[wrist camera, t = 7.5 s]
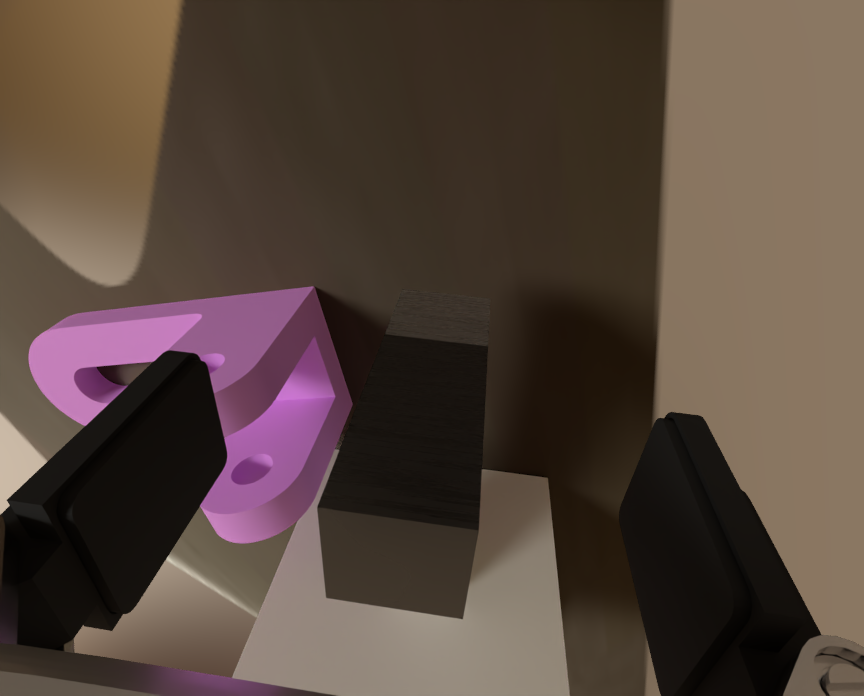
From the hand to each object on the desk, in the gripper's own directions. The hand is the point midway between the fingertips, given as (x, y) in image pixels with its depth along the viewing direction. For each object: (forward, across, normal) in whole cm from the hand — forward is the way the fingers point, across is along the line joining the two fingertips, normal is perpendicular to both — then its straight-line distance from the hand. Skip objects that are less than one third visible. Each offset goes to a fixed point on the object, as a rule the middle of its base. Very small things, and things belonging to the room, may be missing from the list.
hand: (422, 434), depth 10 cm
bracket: (+8, +11, +5) cm, 15 cm away
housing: (+8, 0, +12) cm, 14 cm away
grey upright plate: (+4, 0, +5) cm, 7 cm away
